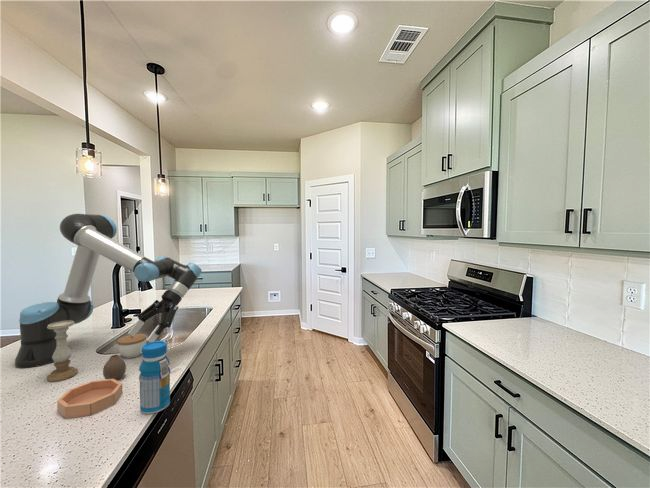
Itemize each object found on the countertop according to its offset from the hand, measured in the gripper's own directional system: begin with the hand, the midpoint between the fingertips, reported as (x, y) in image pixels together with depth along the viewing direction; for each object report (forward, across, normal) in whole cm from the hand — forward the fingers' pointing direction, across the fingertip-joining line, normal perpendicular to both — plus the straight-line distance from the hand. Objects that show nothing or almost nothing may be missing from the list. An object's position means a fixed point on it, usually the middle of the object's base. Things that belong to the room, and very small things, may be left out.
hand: (139, 338), depth 112 cm
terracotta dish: (+23, -9, +5) cm, 25 cm away
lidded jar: (+5, +17, -13) cm, 22 cm away
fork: (+7, -13, -12) cm, 19 cm away
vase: (+15, +1, -3) cm, 15 cm away
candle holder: (+21, +20, +4) cm, 29 cm away
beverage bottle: (+17, -29, -1) cm, 34 cm away
